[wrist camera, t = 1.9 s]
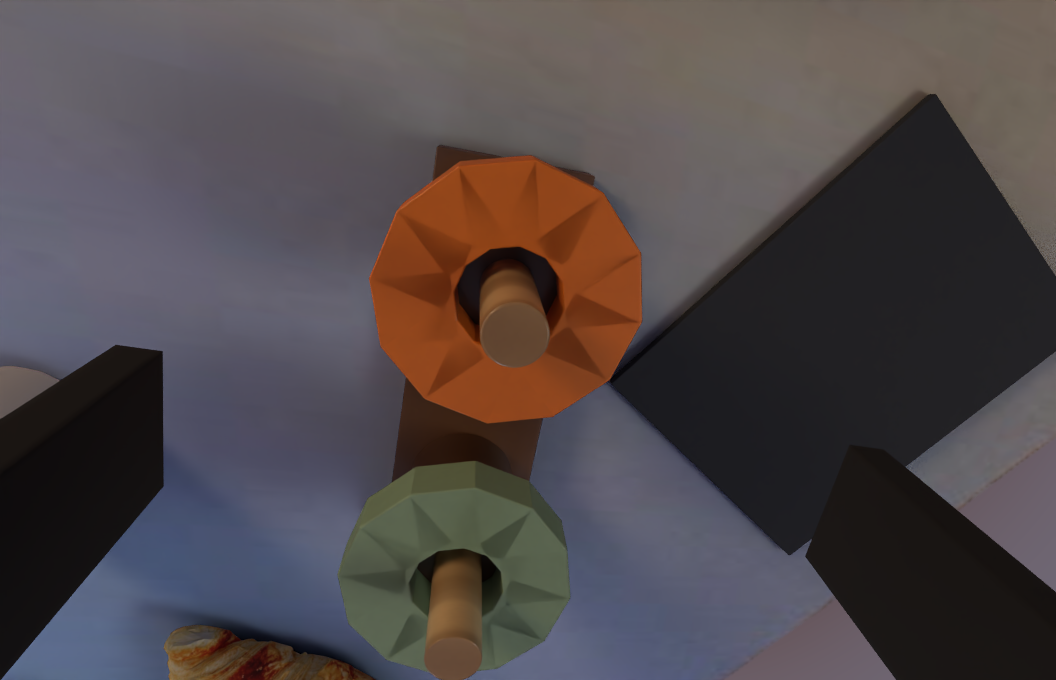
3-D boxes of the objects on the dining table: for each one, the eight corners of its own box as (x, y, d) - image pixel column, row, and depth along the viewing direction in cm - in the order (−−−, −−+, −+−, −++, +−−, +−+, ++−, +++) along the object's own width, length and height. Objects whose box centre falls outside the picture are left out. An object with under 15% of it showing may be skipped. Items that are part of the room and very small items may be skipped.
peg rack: (438, 144, 28) (408, 169, 16) (589, 173, 29) (669, 217, 17) (388, 516, 35) (339, 736, 22) (513, 530, 36) (531, 749, 23)
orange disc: (540, 102, 21) (546, 101, 19) (672, 312, 24) (689, 329, 22) (329, 256, 22) (315, 269, 20) (479, 438, 25) (479, 465, 23)
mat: (928, 93, 29) (936, 93, 28) (1080, 323, 34) (1089, 326, 33) (609, 380, 33) (611, 384, 32) (785, 550, 37) (789, 556, 37)
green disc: (482, 422, 25) (482, 447, 23) (601, 569, 28) (611, 602, 26) (305, 538, 26) (291, 571, 24) (437, 667, 29) (434, 706, 27)
